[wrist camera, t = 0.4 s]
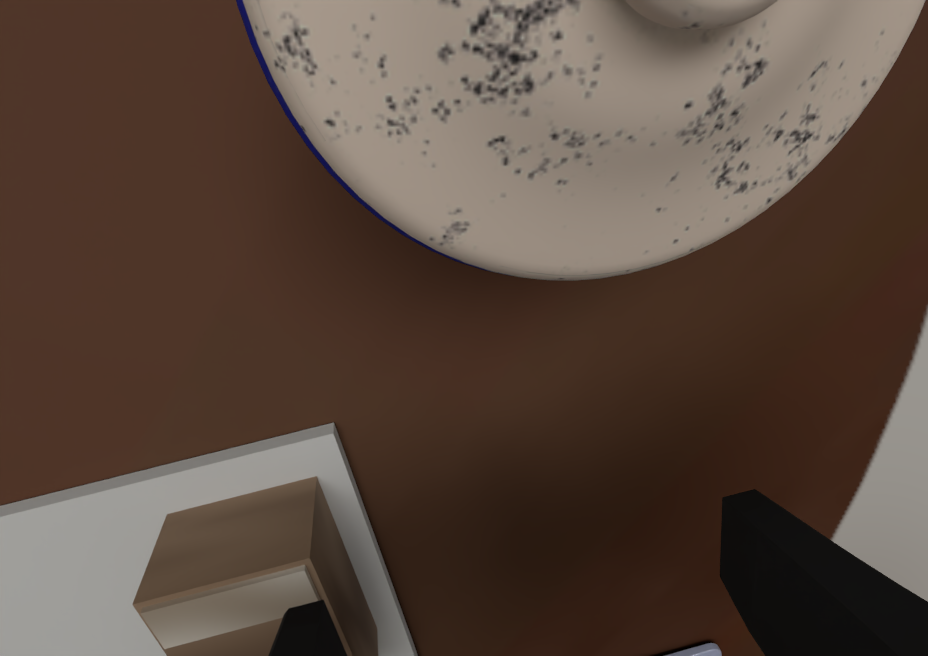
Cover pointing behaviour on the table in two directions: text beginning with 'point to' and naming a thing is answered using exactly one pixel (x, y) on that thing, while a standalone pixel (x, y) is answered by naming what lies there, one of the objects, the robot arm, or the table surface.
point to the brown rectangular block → (251, 574)
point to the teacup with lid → (573, 115)
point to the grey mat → (134, 537)
